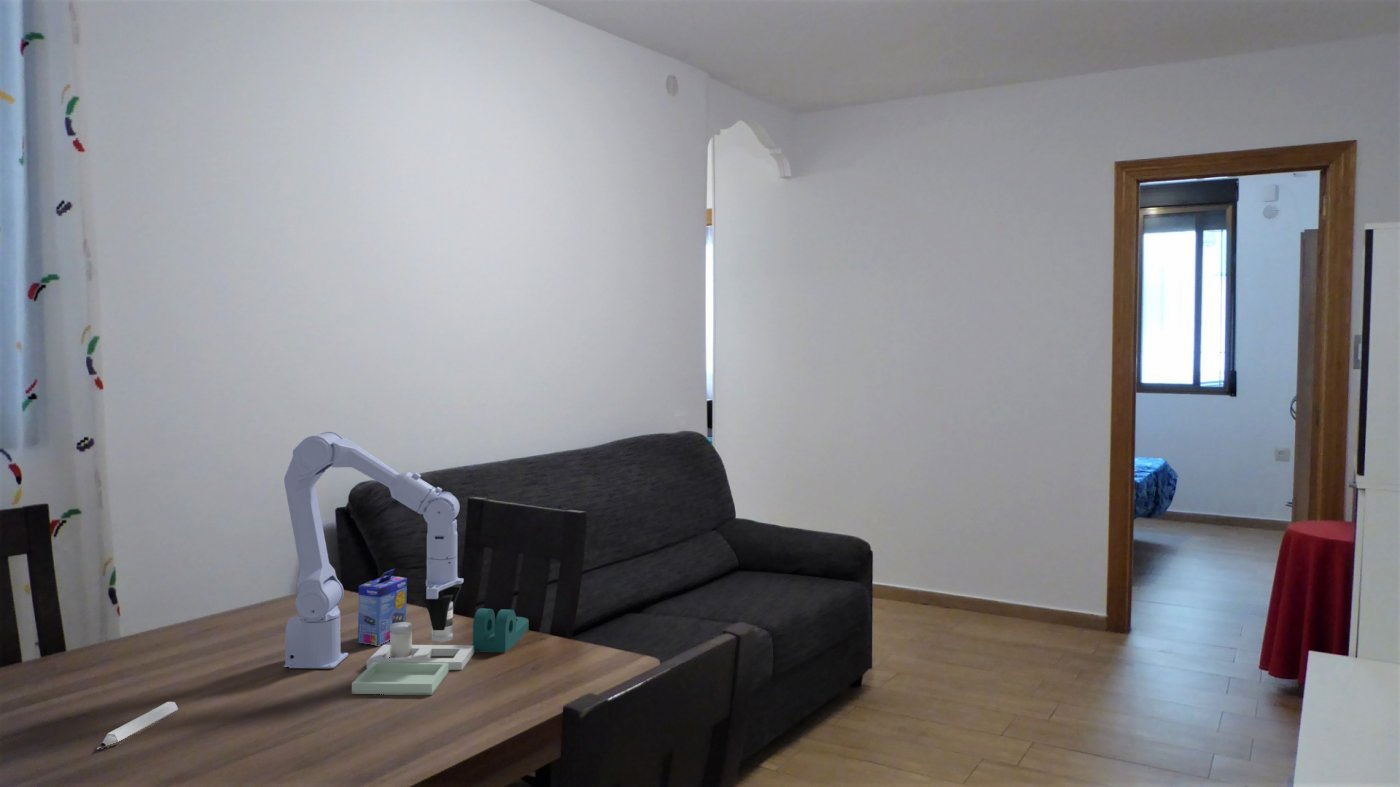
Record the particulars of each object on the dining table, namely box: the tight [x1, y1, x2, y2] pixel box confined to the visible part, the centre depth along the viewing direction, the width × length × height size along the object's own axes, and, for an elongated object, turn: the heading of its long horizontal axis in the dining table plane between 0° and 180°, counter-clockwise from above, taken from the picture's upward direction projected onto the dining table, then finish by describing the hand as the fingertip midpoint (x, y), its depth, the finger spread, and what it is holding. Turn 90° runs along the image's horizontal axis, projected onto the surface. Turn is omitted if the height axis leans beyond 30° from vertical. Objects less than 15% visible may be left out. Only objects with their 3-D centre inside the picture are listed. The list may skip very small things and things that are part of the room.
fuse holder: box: [365, 644, 475, 671], centre depth 183 cm, size 18×10×2 cm, turn 90°
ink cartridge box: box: [357, 568, 408, 647], centre depth 196 cm, size 10×6×14 cm, turn 163°
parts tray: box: [351, 662, 449, 696], centre depth 171 cm, size 14×11×2 cm
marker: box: [96, 701, 179, 750], centre depth 149 cm, size 3×2×16 cm
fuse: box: [389, 621, 413, 658], centre depth 183 cm, size 4×4×7 cm
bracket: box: [472, 607, 530, 653], centre depth 198 cm, size 18×7×8 cm, turn 173°
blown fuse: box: [430, 601, 454, 643], centre depth 183 cm, size 4×4×7 cm
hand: (442, 626), depth 183 cm, fingers closed on blown fuse, 4 cm apart
